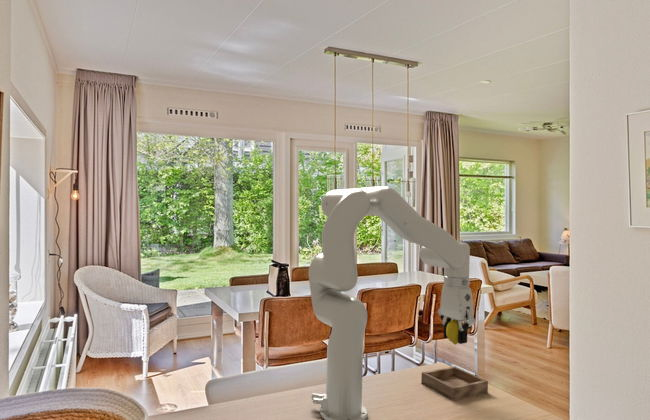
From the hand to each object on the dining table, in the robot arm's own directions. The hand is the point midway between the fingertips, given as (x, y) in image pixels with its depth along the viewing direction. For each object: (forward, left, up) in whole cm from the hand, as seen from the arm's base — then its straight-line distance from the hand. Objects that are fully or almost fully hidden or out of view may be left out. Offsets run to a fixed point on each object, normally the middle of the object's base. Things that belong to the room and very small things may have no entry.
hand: (455, 339), depth 139 cm
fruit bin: (0, 0, -15) cm, 15 cm away
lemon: (0, 0, -2) cm, 2 cm away
